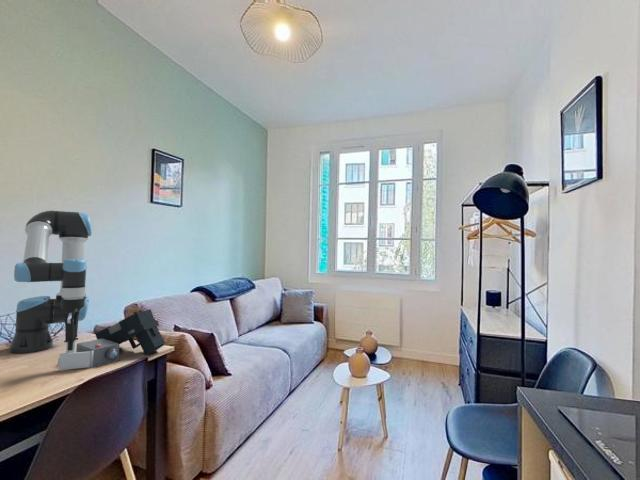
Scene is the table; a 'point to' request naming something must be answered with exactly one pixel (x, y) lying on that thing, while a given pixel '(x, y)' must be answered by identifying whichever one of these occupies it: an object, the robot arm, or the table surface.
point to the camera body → (100, 351)
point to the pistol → (135, 332)
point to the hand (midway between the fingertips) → (70, 357)
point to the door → (75, 360)
